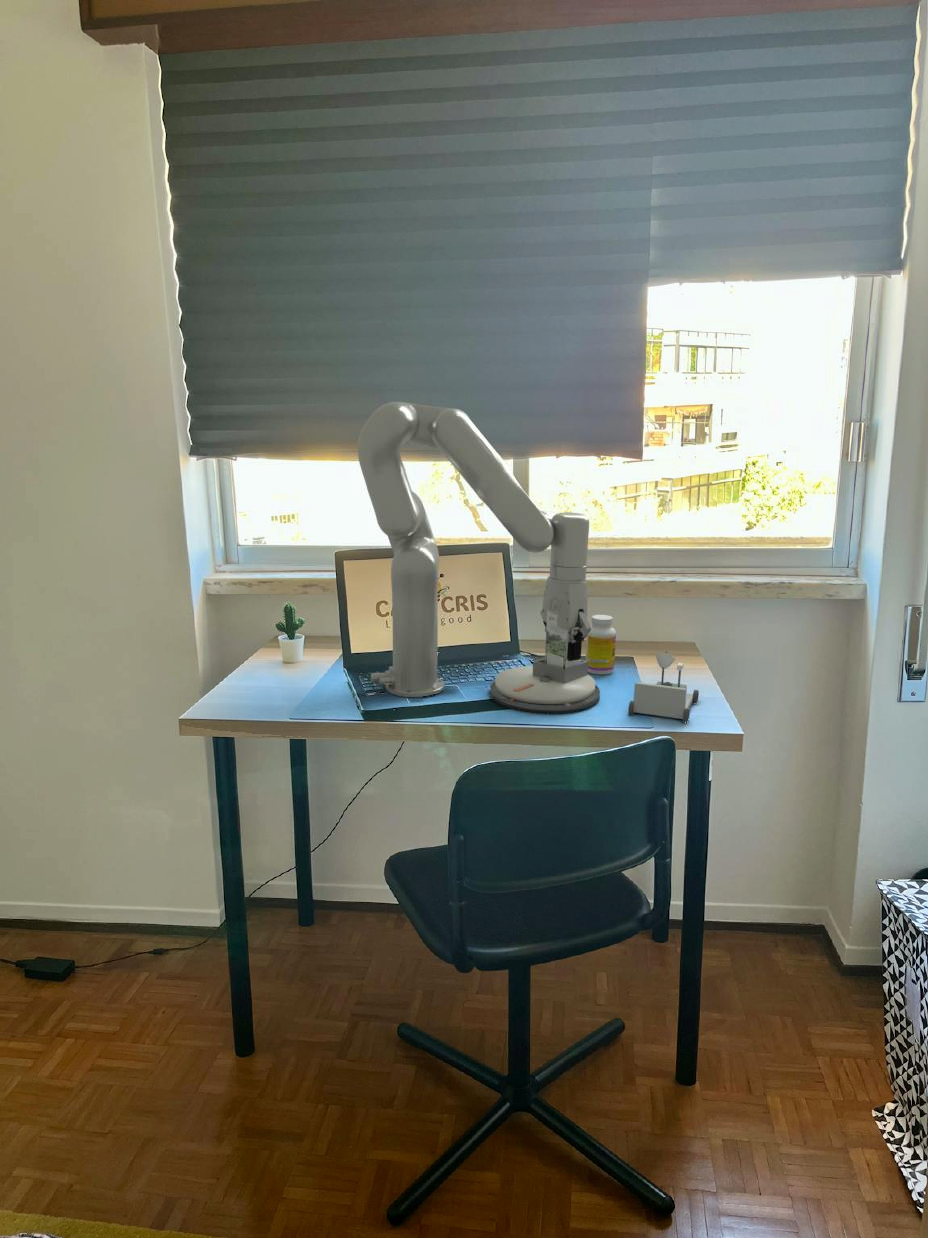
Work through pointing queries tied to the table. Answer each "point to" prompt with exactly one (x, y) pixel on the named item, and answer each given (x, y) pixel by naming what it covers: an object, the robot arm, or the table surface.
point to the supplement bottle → (601, 645)
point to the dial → (546, 683)
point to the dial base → (545, 708)
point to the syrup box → (557, 643)
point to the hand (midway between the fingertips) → (563, 654)
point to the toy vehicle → (663, 695)
